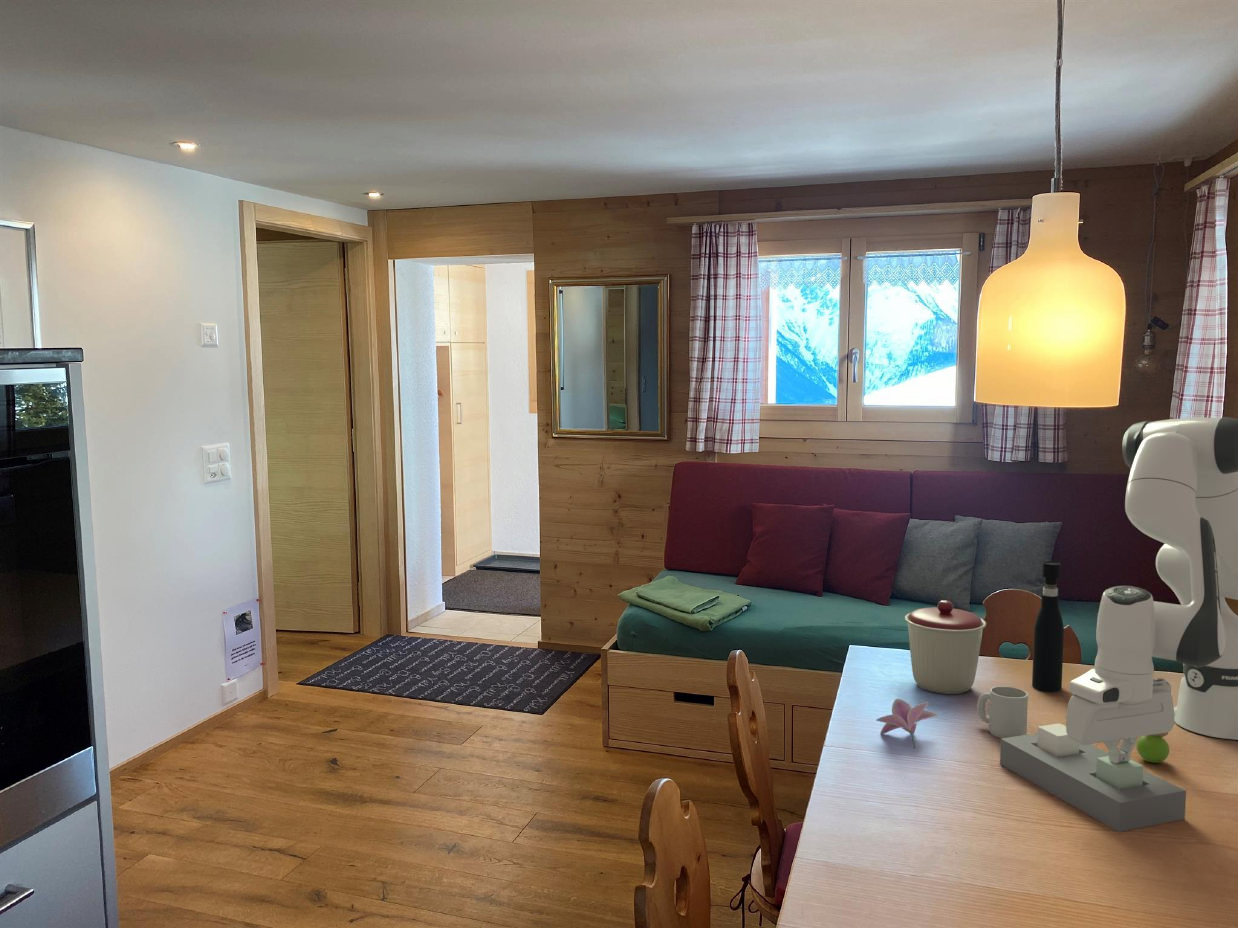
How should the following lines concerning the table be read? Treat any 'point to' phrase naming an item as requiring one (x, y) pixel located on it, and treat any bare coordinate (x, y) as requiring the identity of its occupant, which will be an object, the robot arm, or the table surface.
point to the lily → (905, 717)
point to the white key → (1056, 740)
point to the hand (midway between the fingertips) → (1119, 761)
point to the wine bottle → (1048, 635)
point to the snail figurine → (1153, 747)
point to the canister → (944, 647)
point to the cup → (1005, 711)
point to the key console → (1094, 785)
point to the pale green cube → (1119, 773)
